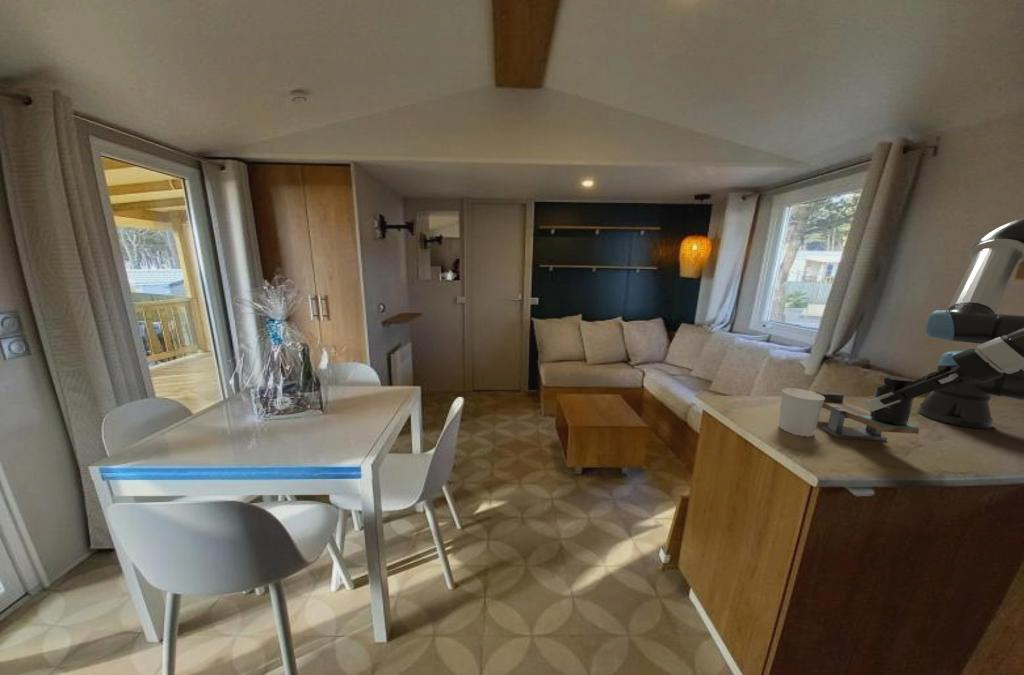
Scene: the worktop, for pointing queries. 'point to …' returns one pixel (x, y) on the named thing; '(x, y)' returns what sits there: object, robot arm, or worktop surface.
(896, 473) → the worktop surface
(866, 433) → the stand
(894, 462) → the worktop surface
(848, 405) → the beam
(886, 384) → the supplement bottle
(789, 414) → the white cylinder
